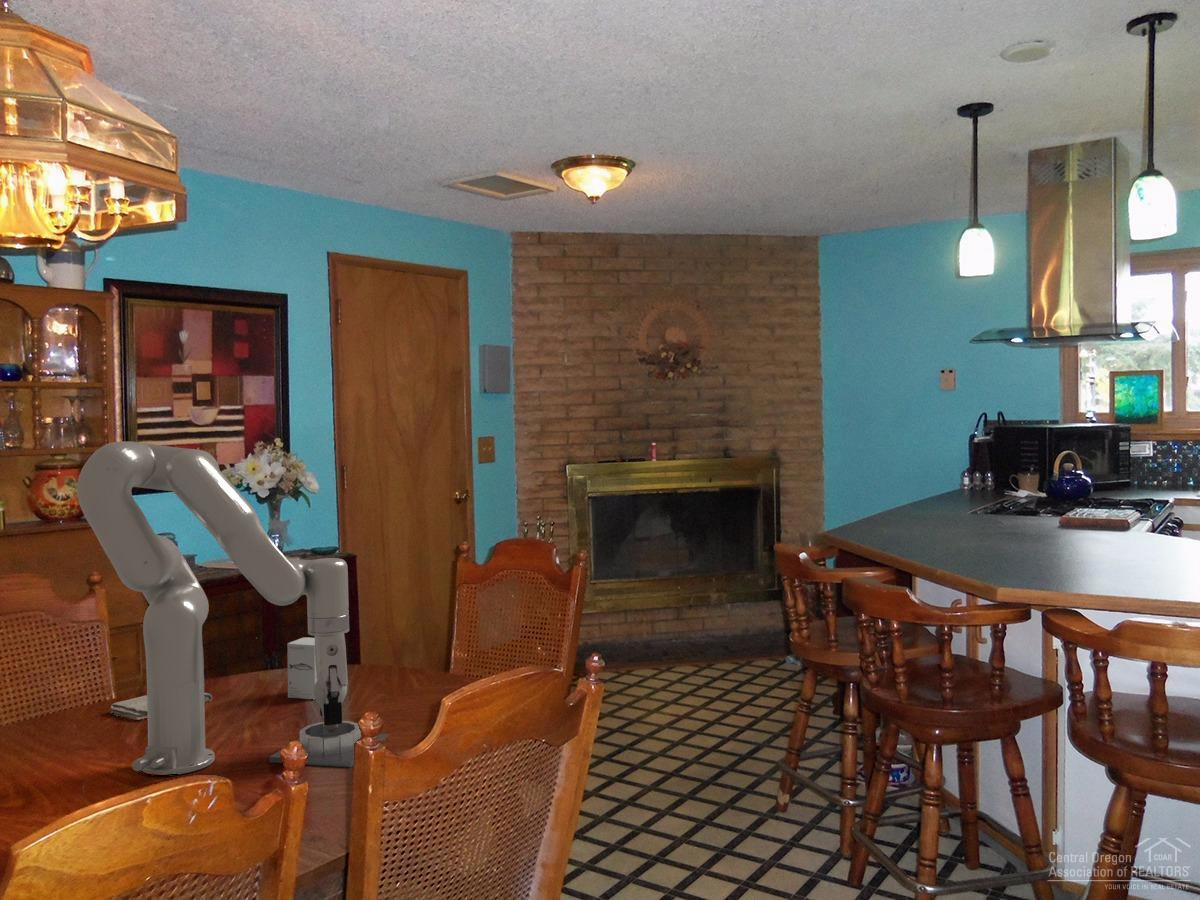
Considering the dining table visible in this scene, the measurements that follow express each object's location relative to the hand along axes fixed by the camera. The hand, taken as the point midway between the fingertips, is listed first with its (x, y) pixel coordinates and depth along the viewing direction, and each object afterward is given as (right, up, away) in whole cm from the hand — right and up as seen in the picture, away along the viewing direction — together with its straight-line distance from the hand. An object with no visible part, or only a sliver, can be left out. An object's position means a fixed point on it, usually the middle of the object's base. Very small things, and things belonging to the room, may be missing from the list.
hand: (331, 718), depth 182 cm
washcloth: (-46, -7, +30) cm, 55 cm away
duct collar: (0, -6, 0) cm, 6 cm away
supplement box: (-16, -6, +39) cm, 42 cm away
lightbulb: (0, -3, 0) cm, 3 cm away
